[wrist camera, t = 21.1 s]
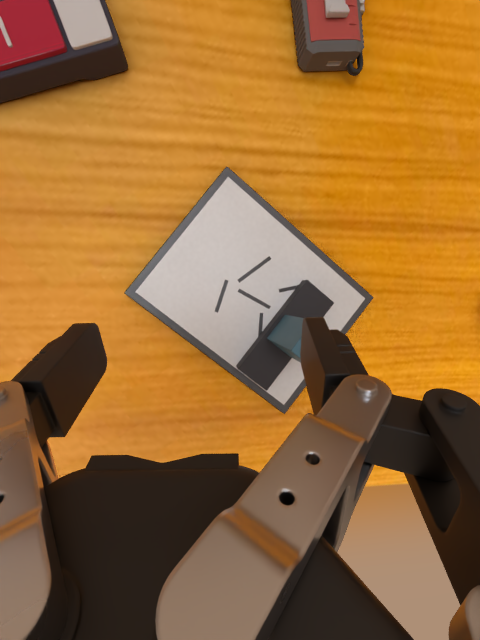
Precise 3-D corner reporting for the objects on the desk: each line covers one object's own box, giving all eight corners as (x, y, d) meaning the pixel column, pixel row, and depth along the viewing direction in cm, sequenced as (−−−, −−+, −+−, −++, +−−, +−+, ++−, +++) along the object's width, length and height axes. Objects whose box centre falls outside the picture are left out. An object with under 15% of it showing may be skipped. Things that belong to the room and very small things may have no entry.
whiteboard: (281, 410, 37) (284, 414, 36) (126, 293, 34) (123, 293, 32) (368, 297, 38) (374, 297, 37) (225, 169, 34) (226, 165, 33)
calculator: (-117, -56, 25) (68, -102, 26) (-71, -6, 30) (86, -48, 31) (-55, 86, 27) (118, 36, 28) (-20, 114, 31) (129, 70, 32)
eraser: (263, 386, 36) (290, 419, 26) (235, 365, 35) (253, 391, 26) (328, 302, 36) (377, 304, 27) (302, 280, 35) (343, 274, 26)
